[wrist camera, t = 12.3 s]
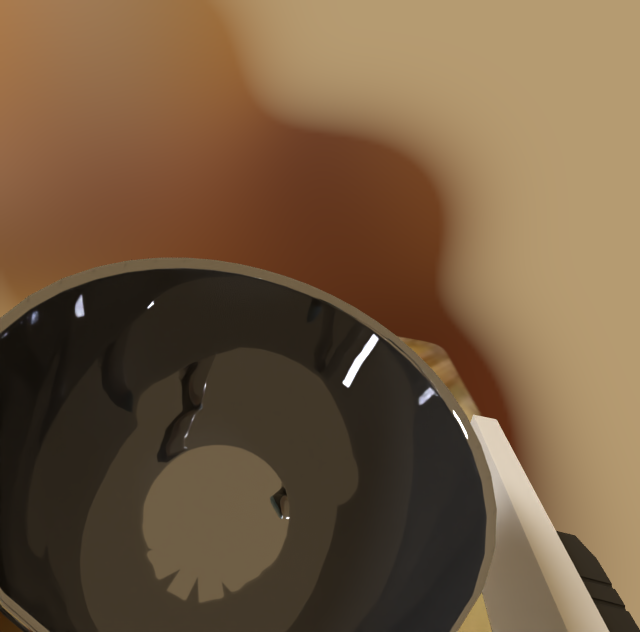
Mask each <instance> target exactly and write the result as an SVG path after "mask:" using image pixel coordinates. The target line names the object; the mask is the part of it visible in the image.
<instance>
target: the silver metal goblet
mask: <svg viewBox="0 0 640 632" xmlns="http://www.w3.org/2000/svg"><path fill="white" fill-rule="evenodd" d="M496 519H497V507H496V501H495V495H494V489H493V483H492V477H491V472H490V470H489V467H488V464H487V461H486V458H485V455H484V452H483V449H482V446H481V443H480V441H479V439H478V437H477V435H476V433H475V431H474V429H473V427H472V425H471V423H470V422H469V420H468V418H467V416H466V414H465V413H464V411H463V410H462V408H461V407H460V405H459V404H458V402H457V401H456V399H455V398H454V396H453V395H452V393H451V392H450V390H449V389H448V388H447V387H446V386H445V384H444V383H443V382H442V381H441V379H440V378H439V377H438V376H437V375H436V373H435V372H434V371H433V370H432V369H431V368H430V367H429V366H428V365H427V364H426V363H425V362H424V361H423V360H422V359H421V358H420V357H419V356H418V355H417V354H416V353H415V352H414V351H413V350H412V349H411V348H410V347H408V346H407V345H406V344H405V343H404V342H403V341H401V340H400V339H399V338H398V337H397V336H396V335H394V334H393V333H392V332H390V331H389V330H388V329H386V328H385V327H383V326H382V325H381V324H379V323H378V322H377V321H375V320H374V319H372V318H371V317H369V316H367V315H366V314H364V313H363V312H361V311H359V310H358V309H356V308H355V307H353V306H351V305H349V304H347V303H345V302H343V301H342V300H340V299H338V298H336V297H334V296H332V295H330V294H328V293H326V292H324V291H321V290H319V289H317V288H315V287H313V286H310V285H308V284H305V283H302V282H300V281H297V280H295V279H292V278H289V277H286V276H283V275H279V274H276V273H273V272H270V271H267V270H263V269H258V268H254V267H250V266H246V265H241V264H236V263H230V262H223V261H217V260H207V259H195V258H151V259H141V260H131V261H124V262H119V263H114V264H110V265H105V266H100V267H95V268H92V269H89V270H86V271H83V272H81V273H77V274H75V275H71V276H69V277H66V278H63V279H61V280H59V281H57V282H55V283H53V284H51V285H49V286H47V287H45V288H43V289H41V290H39V291H38V292H35V293H33V294H32V295H30V296H28V297H27V298H25V299H24V300H23V301H22V302H20V303H19V304H18V305H17V306H15V307H14V308H13V309H11V310H10V311H9V312H8V313H6V314H5V315H3V316H2V317H1V318H0V632H457V631H458V630H459V628H460V627H461V625H462V623H463V622H464V620H465V618H466V617H467V615H468V614H469V612H470V610H471V609H472V607H473V606H474V604H475V602H476V601H477V599H478V597H479V596H480V594H481V593H482V591H483V589H484V586H485V583H486V579H487V576H488V572H489V568H490V565H491V561H492V558H493V554H494V551H495V545H496Z"/></svg>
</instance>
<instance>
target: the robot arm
mask: <svg viewBox="0 0 640 632" xmlns="http://www.w3.org/2000/svg"><path fill="white" fill-rule="evenodd" d="M471 425H472V427H473V429H474V431H475V433H476V435H477V437H478V439H479V441H480V443H481V446H482V449H483V452H484V455H485V458H486V461H487V464H488V467H489V470H490V472H491V477H492V483H493V489H494V495H495V501H496V507H497V519H496V545H495V551H494V554H493V558H492V561H491V565H490V568H489V572H488V576H487V579H486V583H485V586H484V589H483V591H482V594H483V598H484V602H485V606H486V609H487V613H488V617H489V621H490V625H491V629H492V632H640V630H639V628H638V626H637V625H636V623H635V621H634V620H633V618H632V616H631V615H630V613H629V612H628V611H626V610H625V605H624V603H623V601H622V600H621V598H620V597H619V595H618V593H617V592H616V590H615V589H613V588H612V584H611V582H610V580H609V578H608V577H607V575H606V573H605V572H604V570H603V568H602V567H601V565H600V563H599V562H598V560H597V559H596V557H595V556H593V554H592V553H591V552H590V551H589V550H588V549H587V548H586V547H585V546H584V545H583V544H582V542H580V540H579V539H578V538H577V537H576V536H575V535H571V534H567V533H562V532H558V531H555V529H554V527H553V525H552V523H551V521H550V519H549V517H548V516H547V514H546V512H545V510H544V508H543V506H542V504H541V502H540V500H539V499H538V497H537V495H536V493H535V491H534V489H533V487H532V485H531V484H530V482H529V480H528V478H527V476H526V474H525V472H524V470H523V468H522V467H521V465H520V463H519V461H518V459H517V457H516V455H515V454H514V452H513V450H512V448H511V446H510V444H509V442H508V440H507V439H506V437H505V435H504V433H503V431H502V429H501V427H500V425H499V423H498V422H497V420H496V419H491V418H486V417H482V416H477V415H473V417H472V420H471Z"/></svg>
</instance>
